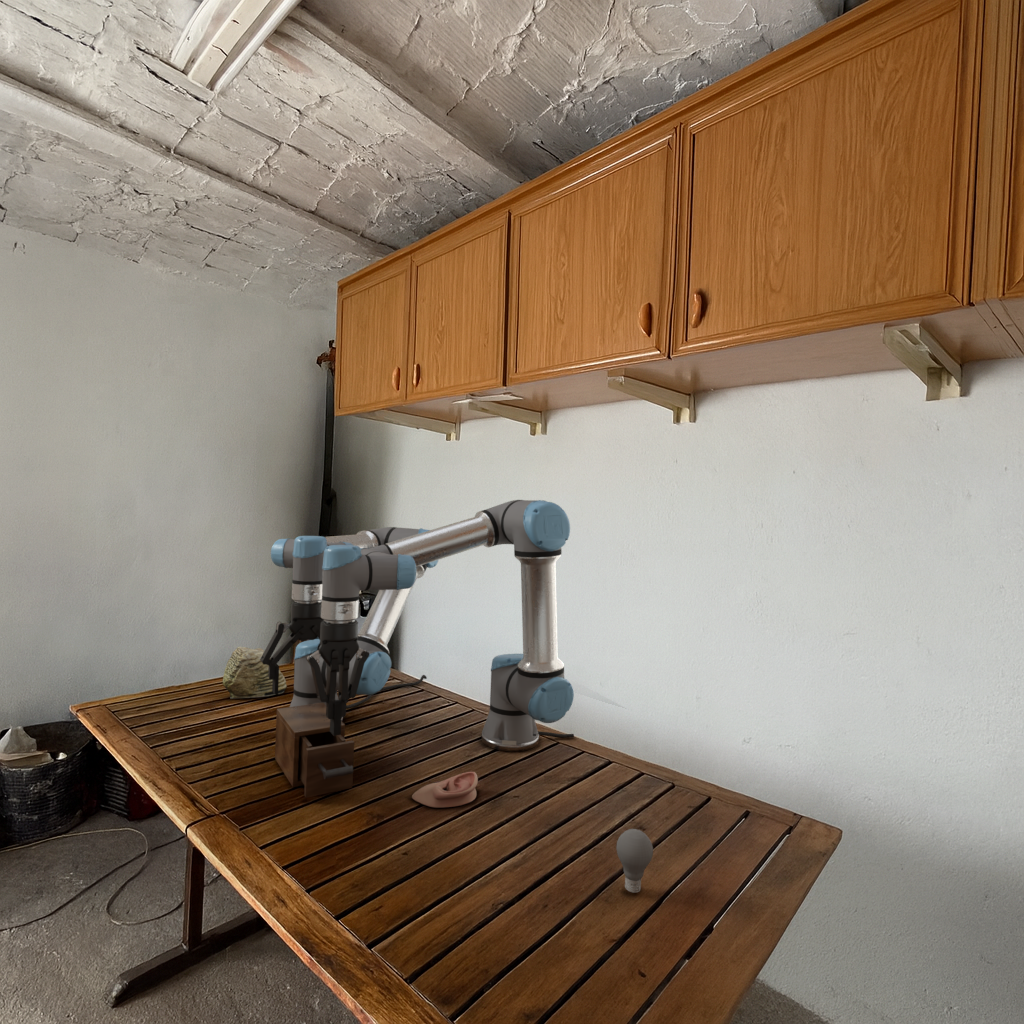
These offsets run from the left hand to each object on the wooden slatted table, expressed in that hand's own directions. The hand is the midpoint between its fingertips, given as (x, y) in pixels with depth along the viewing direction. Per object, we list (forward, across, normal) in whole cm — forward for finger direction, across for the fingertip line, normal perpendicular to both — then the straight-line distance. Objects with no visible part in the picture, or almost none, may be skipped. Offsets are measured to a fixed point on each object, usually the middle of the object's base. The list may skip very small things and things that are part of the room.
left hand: (304, 689), depth 152 cm
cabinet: (+17, 0, -5) cm, 18 cm away
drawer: (+16, 0, -17) cm, 23 cm away
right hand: (+2, 0, -24) cm, 24 cm away
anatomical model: (+17, +22, -33) cm, 43 cm away
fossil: (+17, 0, +55) cm, 58 cm away
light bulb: (+17, +34, -77) cm, 86 cm away
